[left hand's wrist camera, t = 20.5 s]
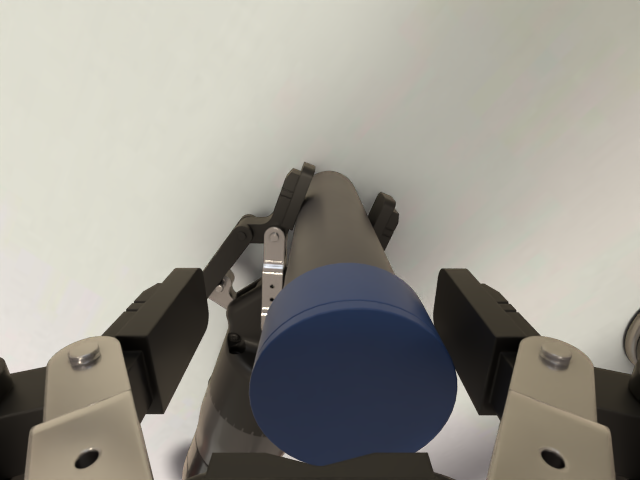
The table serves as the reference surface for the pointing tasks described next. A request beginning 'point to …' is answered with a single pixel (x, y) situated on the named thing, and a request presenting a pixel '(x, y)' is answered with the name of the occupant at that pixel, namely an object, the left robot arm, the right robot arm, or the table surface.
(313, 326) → the lid
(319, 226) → the dark grey capped cylinder
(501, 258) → the table surface
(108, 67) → the table surface
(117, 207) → the table surface
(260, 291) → the right robot arm
